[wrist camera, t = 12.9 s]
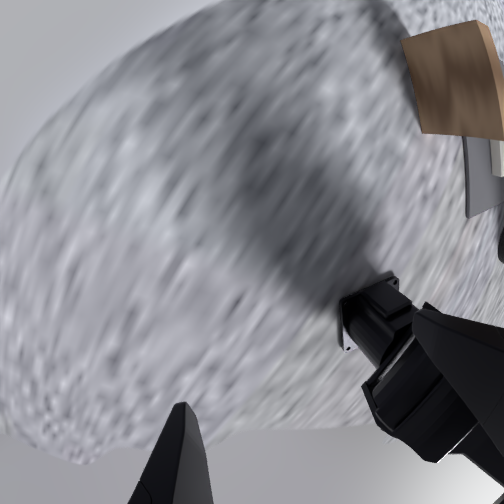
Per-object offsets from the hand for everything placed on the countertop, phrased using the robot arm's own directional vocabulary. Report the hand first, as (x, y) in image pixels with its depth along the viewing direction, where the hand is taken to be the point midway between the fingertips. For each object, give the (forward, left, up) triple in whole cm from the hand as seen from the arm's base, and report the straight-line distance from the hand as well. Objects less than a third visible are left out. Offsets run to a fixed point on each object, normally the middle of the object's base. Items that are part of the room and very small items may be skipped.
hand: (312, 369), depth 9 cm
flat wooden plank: (+10, -19, -12) cm, 25 cm away
